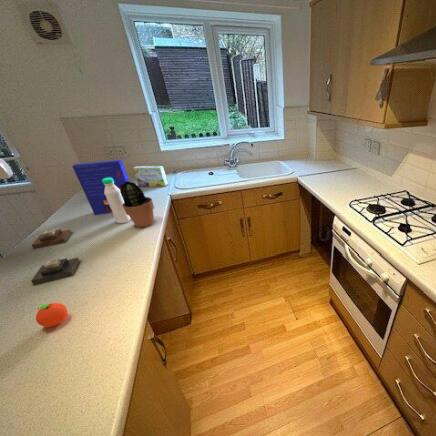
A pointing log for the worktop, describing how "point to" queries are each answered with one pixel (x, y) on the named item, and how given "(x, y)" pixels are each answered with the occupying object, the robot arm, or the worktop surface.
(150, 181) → the snack box
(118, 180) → the cereal box
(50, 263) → the front key
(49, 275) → the dark slab
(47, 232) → the back key
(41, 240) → the reddish brown slab
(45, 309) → the tomato
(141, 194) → the potted plant
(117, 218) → the water bottle
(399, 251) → the worktop surface
